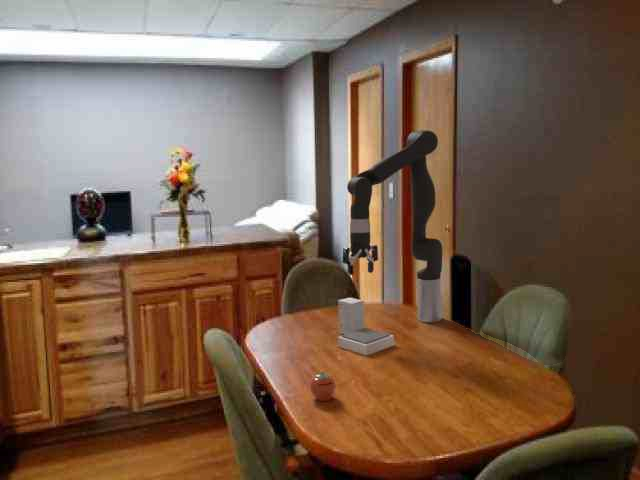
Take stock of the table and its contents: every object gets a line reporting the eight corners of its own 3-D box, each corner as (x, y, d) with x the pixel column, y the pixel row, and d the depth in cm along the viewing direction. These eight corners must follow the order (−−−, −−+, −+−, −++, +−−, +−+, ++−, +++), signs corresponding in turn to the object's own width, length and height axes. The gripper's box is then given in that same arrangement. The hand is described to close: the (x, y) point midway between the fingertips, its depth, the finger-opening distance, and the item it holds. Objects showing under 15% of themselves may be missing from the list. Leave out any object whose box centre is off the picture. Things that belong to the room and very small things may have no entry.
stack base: (365, 337, 214) (365, 326, 213) (393, 345, 204) (393, 334, 203) (338, 346, 205) (337, 335, 204) (366, 355, 195) (366, 344, 194)
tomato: (314, 405, 157) (312, 377, 156) (307, 395, 164) (305, 368, 163) (339, 401, 159) (338, 373, 158) (331, 391, 166) (330, 364, 165)
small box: (365, 333, 218) (364, 300, 216) (353, 337, 214) (351, 303, 212) (351, 329, 224) (349, 296, 223) (338, 333, 220) (337, 300, 219)
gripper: (370, 228, 221) (370, 270, 223) (338, 231, 214) (339, 274, 216) (381, 230, 215) (382, 273, 217) (349, 232, 208) (349, 277, 210)
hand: (360, 273), depth 216 cm, fingers open, 8 cm apart
